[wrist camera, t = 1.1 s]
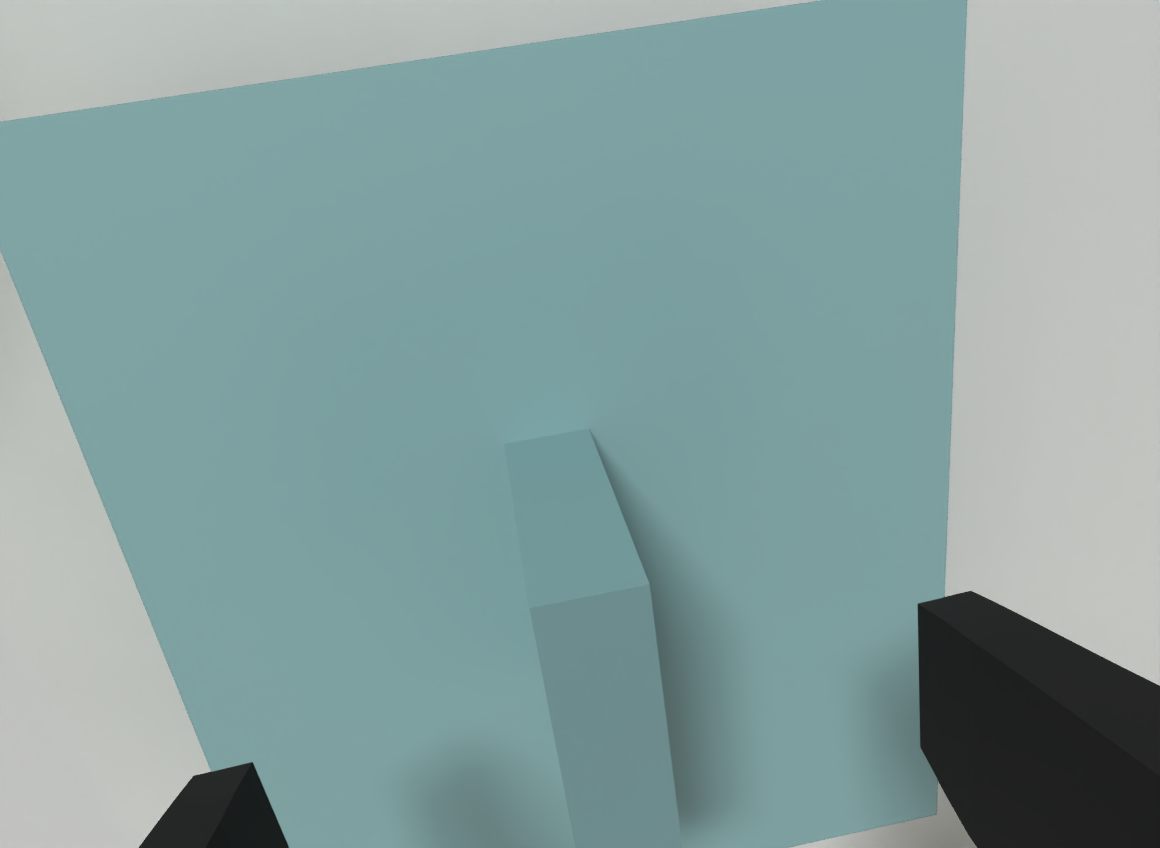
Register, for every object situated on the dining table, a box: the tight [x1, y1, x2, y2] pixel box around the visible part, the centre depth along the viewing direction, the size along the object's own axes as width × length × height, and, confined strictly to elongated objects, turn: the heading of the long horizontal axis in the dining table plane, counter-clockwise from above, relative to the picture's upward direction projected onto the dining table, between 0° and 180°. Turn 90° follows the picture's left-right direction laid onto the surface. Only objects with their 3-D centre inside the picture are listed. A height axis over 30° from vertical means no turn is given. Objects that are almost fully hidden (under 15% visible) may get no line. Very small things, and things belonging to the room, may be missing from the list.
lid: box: [0, 0, 967, 848], centre depth 12 cm, size 12×14×6 cm
